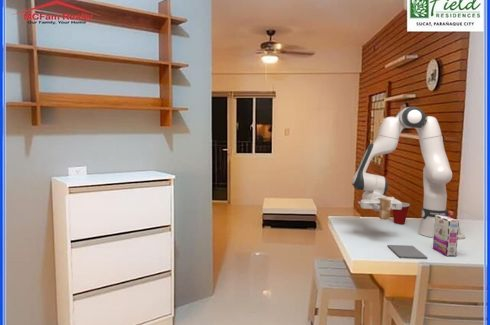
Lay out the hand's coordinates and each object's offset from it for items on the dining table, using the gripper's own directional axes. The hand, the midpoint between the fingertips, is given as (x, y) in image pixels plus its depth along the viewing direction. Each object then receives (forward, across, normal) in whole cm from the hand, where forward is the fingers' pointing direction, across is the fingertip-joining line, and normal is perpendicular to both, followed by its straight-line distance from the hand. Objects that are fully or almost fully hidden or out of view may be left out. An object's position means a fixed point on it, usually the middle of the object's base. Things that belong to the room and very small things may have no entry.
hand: (385, 208), depth 187 cm
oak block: (-1, 0, +6) cm, 6 cm away
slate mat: (+14, +6, +18) cm, 23 cm away
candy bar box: (+12, +24, +18) cm, 32 cm away
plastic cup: (-40, +22, +18) cm, 49 cm away
